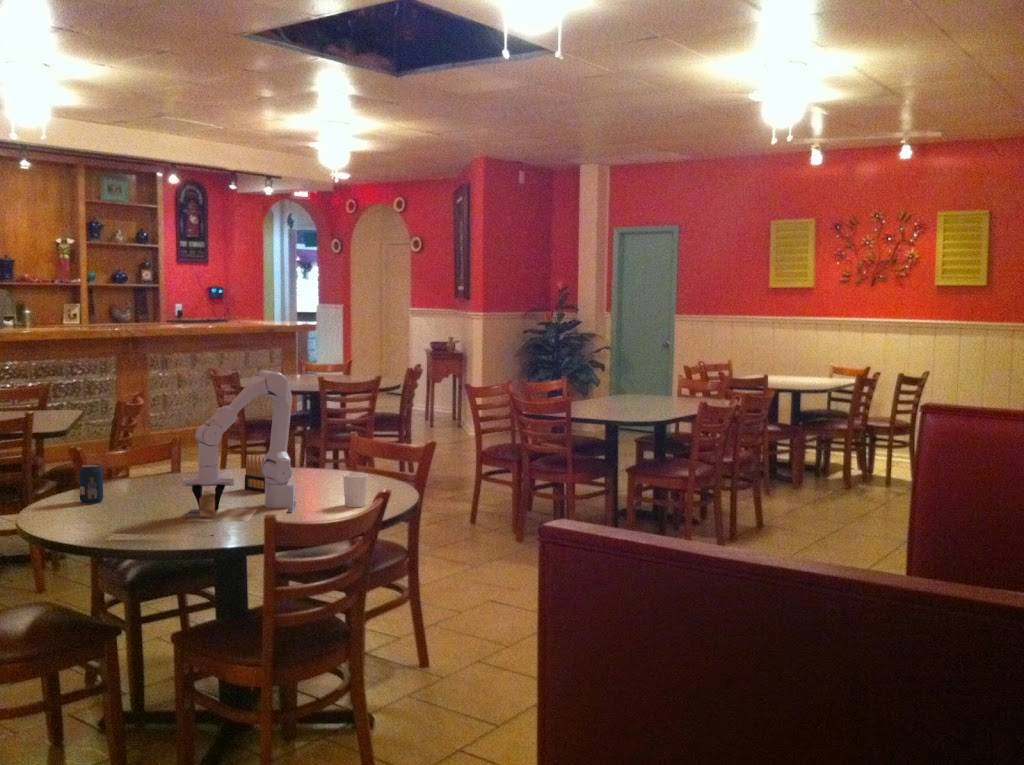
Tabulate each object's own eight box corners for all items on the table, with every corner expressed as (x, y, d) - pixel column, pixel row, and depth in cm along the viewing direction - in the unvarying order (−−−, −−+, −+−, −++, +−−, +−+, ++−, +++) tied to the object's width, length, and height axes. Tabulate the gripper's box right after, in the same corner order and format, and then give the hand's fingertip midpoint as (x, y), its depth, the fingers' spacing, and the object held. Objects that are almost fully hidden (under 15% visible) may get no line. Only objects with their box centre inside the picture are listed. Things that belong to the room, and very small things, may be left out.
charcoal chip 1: (204, 511, 308) (204, 509, 308) (202, 514, 304) (202, 512, 304) (190, 511, 307) (190, 509, 307) (188, 514, 303) (188, 512, 303)
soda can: (94, 498, 328) (93, 462, 327) (108, 501, 324) (107, 464, 323) (75, 502, 322) (74, 465, 321) (89, 505, 318) (88, 468, 317)
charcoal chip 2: (201, 515, 302) (201, 513, 302) (200, 518, 299) (200, 516, 298) (188, 515, 302) (188, 513, 302) (186, 518, 298) (186, 516, 298)
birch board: (257, 513, 312) (257, 508, 312) (248, 526, 296) (247, 521, 296) (198, 513, 311) (198, 508, 311) (185, 525, 295) (185, 520, 295)
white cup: (371, 503, 329) (372, 473, 328) (361, 508, 321) (361, 478, 320) (349, 501, 331) (349, 471, 330) (338, 506, 324) (339, 476, 323)
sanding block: (218, 509, 310) (218, 490, 309) (213, 518, 298) (213, 498, 297) (204, 509, 309) (204, 490, 308) (199, 518, 297) (199, 498, 297)
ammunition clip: (271, 492, 344) (271, 457, 342) (267, 493, 342) (267, 458, 341) (248, 488, 349) (248, 454, 348) (244, 489, 347) (244, 454, 346)
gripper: (234, 462, 307) (235, 506, 308) (185, 462, 304) (185, 507, 306) (232, 466, 300) (232, 511, 301) (181, 467, 297) (182, 512, 299)
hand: (208, 509), depth 303 cm, fingers closed on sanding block, 4 cm apart
